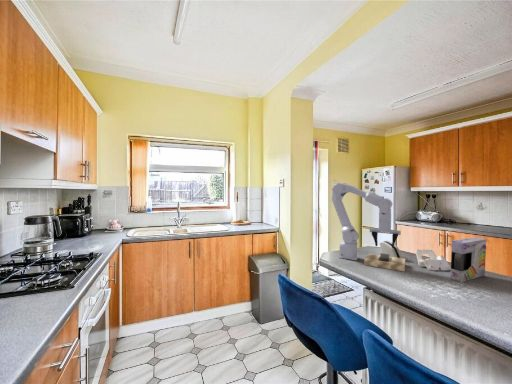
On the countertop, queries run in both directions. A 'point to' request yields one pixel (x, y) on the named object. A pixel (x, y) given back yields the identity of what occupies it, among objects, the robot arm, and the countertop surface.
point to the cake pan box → (468, 258)
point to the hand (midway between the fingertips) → (384, 246)
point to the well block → (392, 264)
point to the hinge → (390, 249)
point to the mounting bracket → (432, 263)
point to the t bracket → (384, 257)
